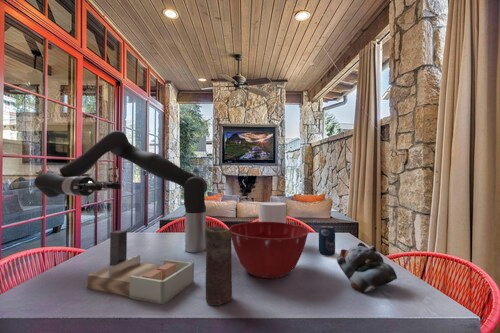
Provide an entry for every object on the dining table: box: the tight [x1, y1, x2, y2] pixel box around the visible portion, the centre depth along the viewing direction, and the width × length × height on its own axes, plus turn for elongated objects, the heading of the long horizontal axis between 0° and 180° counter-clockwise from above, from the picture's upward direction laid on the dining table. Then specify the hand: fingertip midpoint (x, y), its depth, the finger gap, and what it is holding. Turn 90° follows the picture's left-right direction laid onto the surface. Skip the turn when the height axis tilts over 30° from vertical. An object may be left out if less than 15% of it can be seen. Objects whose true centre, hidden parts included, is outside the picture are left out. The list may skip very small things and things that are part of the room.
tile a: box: [157, 263, 176, 281], centre depth 82 cm, size 5×5×3 cm
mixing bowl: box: [228, 221, 310, 279], centre depth 94 cm, size 28×28×16 cm
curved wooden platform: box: [86, 262, 162, 297], centre depth 84 cm, size 17×14×4 cm
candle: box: [205, 226, 233, 306], centre depth 73 cm, size 8×7×20 cm
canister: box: [258, 201, 287, 223], centre depth 129 cm, size 14×14×20 cm
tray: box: [128, 258, 195, 305], centre depth 79 cm, size 11×16×6 cm
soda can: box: [318, 224, 336, 257], centre depth 113 cm, size 7×7×12 cm
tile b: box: [142, 270, 162, 280], centre depth 77 cm, size 5×5×3 cm
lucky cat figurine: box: [336, 242, 398, 294], centre depth 83 cm, size 15×12×14 cm
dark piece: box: [108, 229, 141, 277], centre depth 85 cm, size 5×12×12 cm, turn 161°
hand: (110, 186), depth 97 cm, fingers open, 8 cm apart
